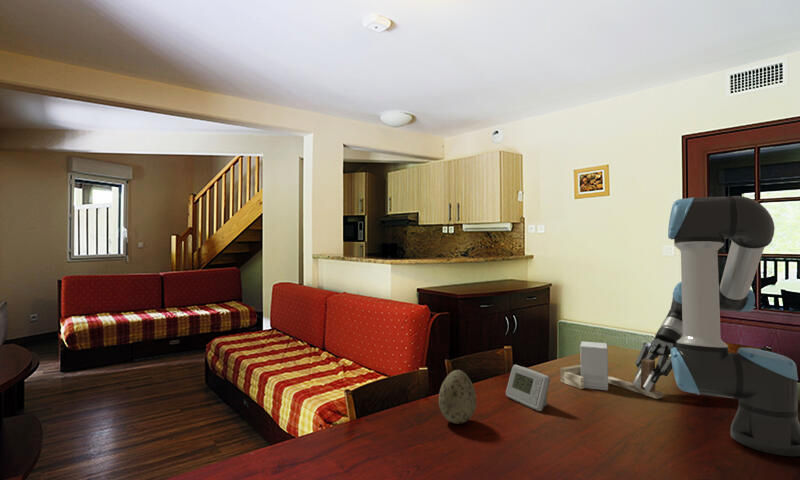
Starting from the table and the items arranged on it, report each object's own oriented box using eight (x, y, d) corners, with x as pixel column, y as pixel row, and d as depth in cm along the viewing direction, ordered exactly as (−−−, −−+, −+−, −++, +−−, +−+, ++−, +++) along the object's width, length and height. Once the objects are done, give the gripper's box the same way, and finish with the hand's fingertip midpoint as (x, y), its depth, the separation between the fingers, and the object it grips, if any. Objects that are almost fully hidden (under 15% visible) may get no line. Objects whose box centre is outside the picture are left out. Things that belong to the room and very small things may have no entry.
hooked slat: (662, 397, 144) (662, 362, 144) (627, 406, 137) (627, 369, 137) (593, 375, 169) (592, 345, 169) (560, 381, 161) (559, 350, 161)
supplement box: (608, 383, 159) (607, 342, 159) (608, 391, 151) (608, 348, 151) (581, 380, 163) (580, 340, 163) (580, 387, 155) (579, 345, 155)
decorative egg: (482, 420, 127) (482, 368, 127) (466, 433, 118) (466, 378, 118) (449, 412, 133) (449, 363, 133) (431, 424, 124) (431, 371, 124)
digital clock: (503, 396, 147) (503, 364, 147) (526, 393, 149) (526, 362, 149) (530, 414, 131) (529, 379, 131) (555, 411, 134) (555, 376, 134)
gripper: (699, 344, 147) (669, 402, 139) (653, 335, 161) (624, 387, 154) (690, 330, 145) (659, 387, 137) (644, 322, 159) (614, 374, 152)
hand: (640, 387), depth 146 cm, fingers closed on hooked slat, 3 cm apart
